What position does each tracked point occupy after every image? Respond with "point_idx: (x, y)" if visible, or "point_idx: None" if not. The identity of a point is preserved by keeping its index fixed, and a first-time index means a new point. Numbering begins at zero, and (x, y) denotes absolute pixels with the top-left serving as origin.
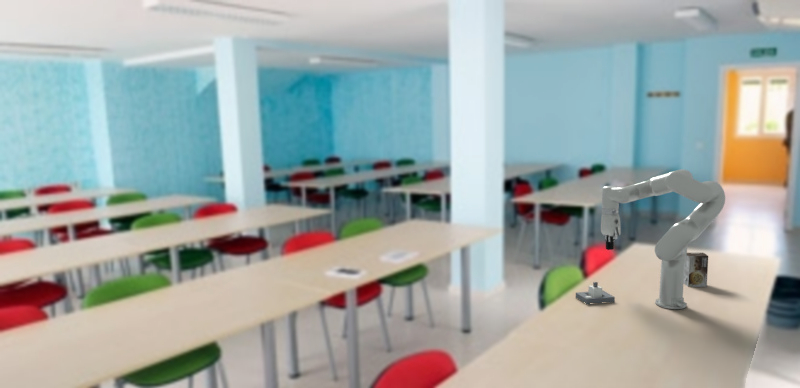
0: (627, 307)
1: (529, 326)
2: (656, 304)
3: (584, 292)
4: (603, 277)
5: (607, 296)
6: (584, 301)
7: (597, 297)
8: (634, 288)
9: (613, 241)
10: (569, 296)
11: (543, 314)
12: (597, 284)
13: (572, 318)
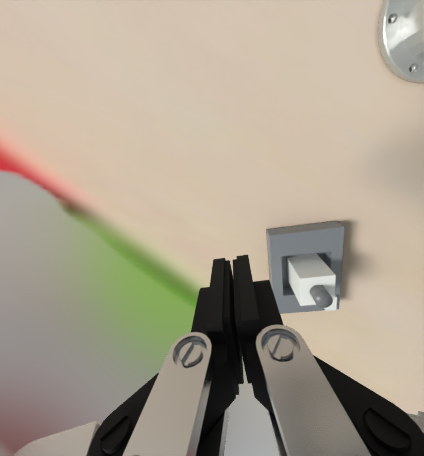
0: (393, 203)
1: None
2: (417, 82)
3: (278, 293)
4: (63, 142)
5: (333, 246)
6: None
7: None
8: (204, 74)
9: (286, 334)
10: None
11: None
12: (328, 293)
13: (408, 356)
